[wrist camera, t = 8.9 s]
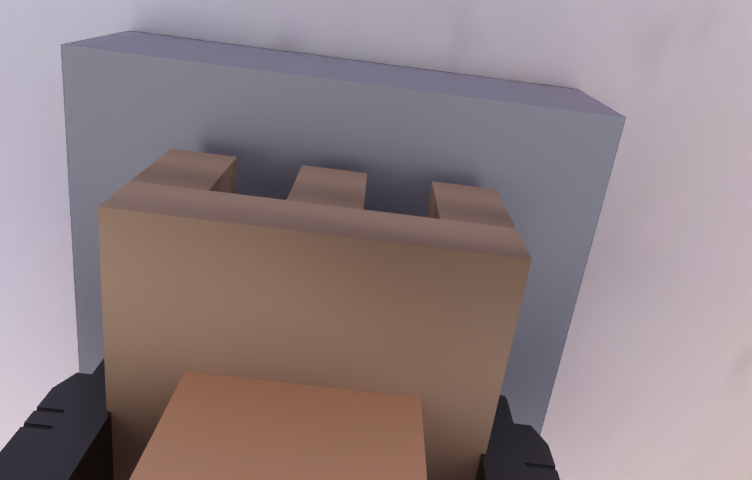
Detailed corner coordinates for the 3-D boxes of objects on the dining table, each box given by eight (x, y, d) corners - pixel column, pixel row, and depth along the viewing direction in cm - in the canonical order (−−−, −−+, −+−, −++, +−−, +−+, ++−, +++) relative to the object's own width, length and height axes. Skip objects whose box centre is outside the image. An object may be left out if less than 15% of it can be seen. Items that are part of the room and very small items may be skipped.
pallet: (170, 148, 12) (97, 206, 9) (496, 189, 12) (532, 259, 9) (169, 521, 15) (116, 653, 12) (422, 548, 15) (431, 685, 12)
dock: (128, 31, 16) (60, 44, 12) (577, 89, 16) (625, 117, 13) (136, 432, 20) (87, 520, 17) (486, 472, 20) (504, 565, 17)
